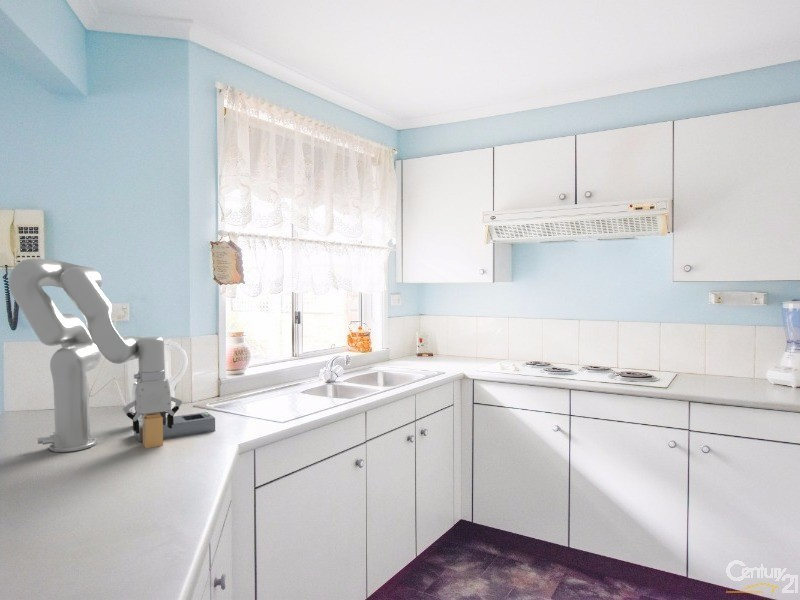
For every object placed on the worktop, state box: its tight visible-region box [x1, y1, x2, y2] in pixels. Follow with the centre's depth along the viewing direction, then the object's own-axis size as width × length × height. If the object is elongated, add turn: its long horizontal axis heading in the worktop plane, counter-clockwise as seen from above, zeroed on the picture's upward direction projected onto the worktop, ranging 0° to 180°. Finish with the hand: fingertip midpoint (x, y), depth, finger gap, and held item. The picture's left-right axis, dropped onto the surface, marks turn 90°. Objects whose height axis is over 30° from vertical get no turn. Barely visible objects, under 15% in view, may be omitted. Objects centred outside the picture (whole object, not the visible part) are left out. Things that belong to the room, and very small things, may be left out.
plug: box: [142, 413, 164, 449], centre depth 177 cm, size 5×5×10 cm
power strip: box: [133, 411, 216, 443], centre depth 190 cm, size 24×10×10 cm, turn 125°
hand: (153, 430), depth 177 cm, fingers open, 9 cm apart
